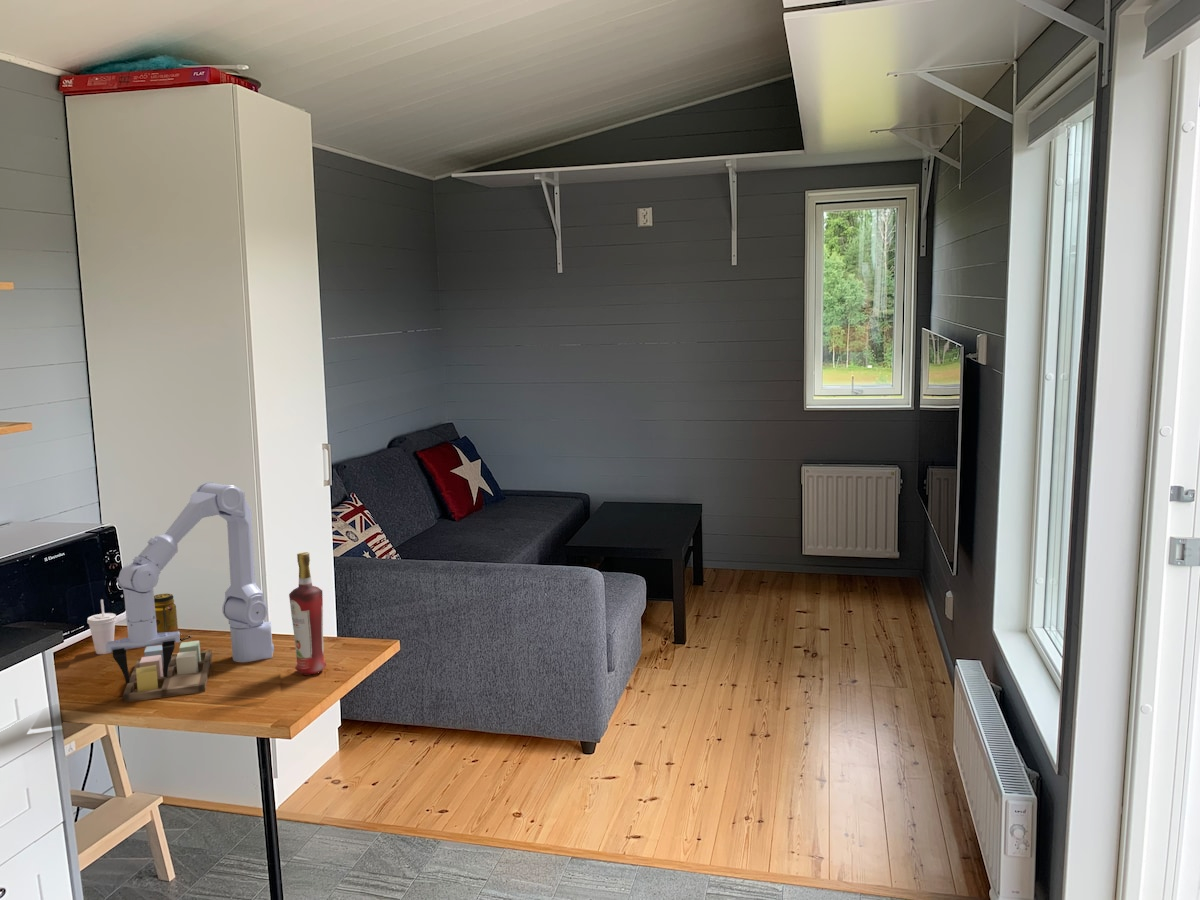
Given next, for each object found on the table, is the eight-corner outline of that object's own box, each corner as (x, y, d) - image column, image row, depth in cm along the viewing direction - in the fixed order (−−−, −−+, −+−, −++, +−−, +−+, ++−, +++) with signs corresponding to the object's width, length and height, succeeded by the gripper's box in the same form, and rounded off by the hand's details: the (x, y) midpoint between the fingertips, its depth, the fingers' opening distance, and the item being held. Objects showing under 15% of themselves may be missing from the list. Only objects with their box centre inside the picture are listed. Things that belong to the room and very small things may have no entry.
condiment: (145, 643, 243) (141, 597, 242) (173, 633, 251) (170, 589, 249) (164, 647, 240) (160, 601, 238) (192, 637, 247) (189, 592, 246)
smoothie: (107, 659, 232) (101, 604, 230) (84, 658, 233) (78, 603, 231) (125, 650, 238) (120, 596, 236) (103, 649, 239) (97, 595, 237)
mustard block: (158, 686, 211) (156, 664, 210) (158, 692, 208) (156, 670, 207) (138, 689, 209) (136, 668, 209) (138, 696, 206) (136, 674, 205)
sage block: (200, 660, 227) (199, 640, 226) (199, 666, 223) (197, 645, 223) (182, 662, 226) (181, 642, 225) (181, 668, 222) (179, 647, 221)
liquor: (288, 673, 219) (279, 555, 216) (314, 663, 225) (306, 548, 222) (308, 679, 215) (299, 559, 211) (334, 669, 221) (326, 552, 217)
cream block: (198, 671, 220) (196, 650, 219) (197, 677, 216) (195, 656, 216) (179, 673, 219) (177, 652, 218) (177, 679, 215) (176, 658, 214)
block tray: (212, 659, 230) (211, 650, 230) (205, 694, 208) (204, 684, 207) (138, 668, 225) (138, 659, 225) (123, 705, 203) (122, 695, 202)
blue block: (166, 664, 225) (164, 644, 224) (164, 670, 221) (163, 649, 220) (148, 667, 223) (146, 646, 223) (145, 673, 220) (144, 652, 219)
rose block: (163, 675, 218) (161, 654, 217) (161, 681, 214) (159, 660, 213) (143, 678, 216) (141, 657, 216) (141, 684, 213) (139, 662, 212)
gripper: (177, 608, 213) (182, 666, 214) (104, 618, 206) (110, 678, 208) (178, 616, 206) (183, 676, 208) (103, 627, 200) (109, 689, 202)
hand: (146, 678), depth 208 cm, fingers open, 7 cm apart
